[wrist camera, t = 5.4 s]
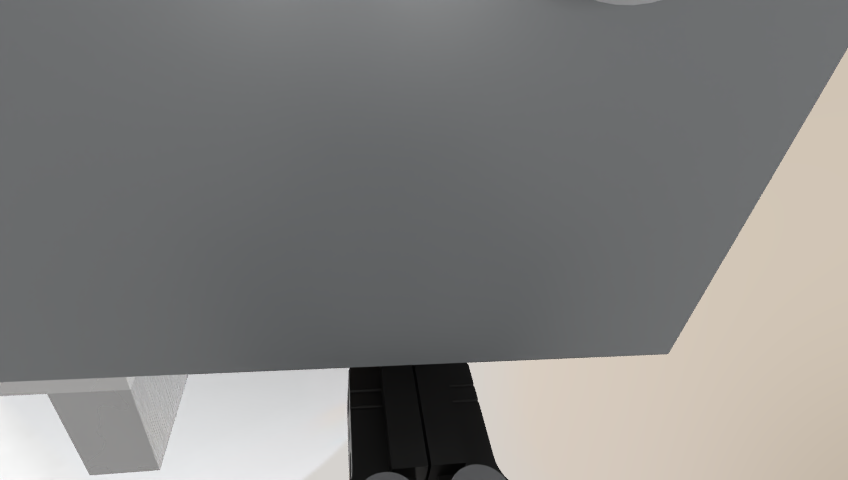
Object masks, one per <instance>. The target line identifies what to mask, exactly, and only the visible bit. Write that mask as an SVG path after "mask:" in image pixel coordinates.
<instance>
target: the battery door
mask: <svg viewBox="0 0 848 480" xmlns="http://www.w3.org/2000/svg"><path fill="white" fill-rule="evenodd" d="M187 377H188V374H185V375H161V376H137V377H114V378H90V379H66V380H43V381H19V382H0V396H9V395H30V394H48V396H49V398H50V400H51V402H52V404H53V406H54V408H55V410H56V412H57V413H58V415H59V417H60V419H61V421H62V423H63V425H64V427H65V429H66V431H67V433H68V434H69V436H70V438H71V440H72V442H73V444H74V446H75V448H76V450H77V452H78V453H79V455H80V457H81V459H82V461H83V463H84V465H85V467H86V469H87V471H88V473H89V474H90V475H100V474H113V473H126V472H140V471H153V470H160V468H161V464H162V461H163V457H164V454H165V451H166V447H167V444H168V441H169V437H170V434H171V431H172V427H173V424H174V421H175V417H176V414H177V411H178V407H179V404H180V401H181V397H182V394H183V390H184V387H185V384H186V380H187Z"/></svg>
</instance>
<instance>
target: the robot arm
mask: <svg viewBox="0 0 848 480" xmlns="http://www.w3.org/2000/svg"><path fill="white" fill-rule="evenodd" d="M347 418H348V451H349V480H508V479H507V478H506V477H505V476H504V475H503V474H502V473H501V471H500V470H499V468H498V466H497V464H496V462H495V459H494V456H493V452H492V449H491V445H490V441H489V438H488V435H487V431H486V427H485V423H484V420H483V416H482V412H481V409H480V405H479V403H478V398H477V395H476V391H475V388H474V386H473V380H472V376H471V373H470V369H469V365H468V364H467V363H445V364H421V365H398V366H374V367H350V369H349V379H348V401H347Z"/></svg>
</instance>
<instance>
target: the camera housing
mask: <svg viewBox="0 0 848 480" xmlns="http://www.w3.org/2000/svg"><path fill="white" fill-rule="evenodd" d="M847 48H848V0H0V382H19V381H43V380H66V379H90V378H114V377H137V376H161V375H185V374H208V373H232V372H256V371H279V370H303V369H327V368H350V367H374V366H398V365H421V364H445V363H467V362H492V361H516V360H539V359H562V358H585V357H586V358H587V357H611V356H634V355H658V354H668V353H669V352H670V350H671V348H672V347H673V345H674V343H675V341H676V340H677V338H678V336H679V335H680V332H681V331H682V330H683V328H684V326H685V324H686V323H687V321H688V319H689V317H690V316H691V314H692V313H693V311H694V309H695V307H696V306H697V304H698V302H699V301H700V299H701V297H702V295H703V294H704V292H705V290H706V289H707V287H708V285H709V284H710V282H711V280H712V278H713V277H714V275H715V273H716V271H717V270H718V268H719V266H720V265H721V263H722V261H723V259H724V258H725V256H726V255H727V253H728V251H729V249H730V248H731V246H732V244H733V243H734V241H735V239H736V237H737V236H738V234H739V232H740V230H741V229H742V227H743V226H744V224H745V222H746V220H747V219H748V217H749V215H750V214H751V212H752V210H753V209H754V207H755V205H756V203H757V202H758V200H759V198H760V197H761V194H762V193H763V191H764V190H765V188H766V186H767V185H768V183H769V181H770V180H771V178H772V176H773V174H774V173H775V171H776V169H777V168H778V166H779V164H780V162H781V161H782V159H783V157H784V156H785V154H786V152H787V150H788V149H789V147H790V145H791V144H792V142H793V140H794V138H795V137H796V135H797V133H798V132H799V130H800V128H801V127H802V125H803V123H804V122H805V120H806V118H807V116H808V115H809V113H810V111H811V110H812V108H813V106H814V105H815V103H816V101H817V99H818V98H819V96H820V94H821V93H822V91H823V89H824V87H825V85H826V84H827V82H828V81H829V79H830V77H831V76H832V74H833V72H834V70H835V69H836V67H837V65H838V64H839V62H840V60H841V58H842V57H843V55H844V53H845V52H846V50H847Z"/></svg>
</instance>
